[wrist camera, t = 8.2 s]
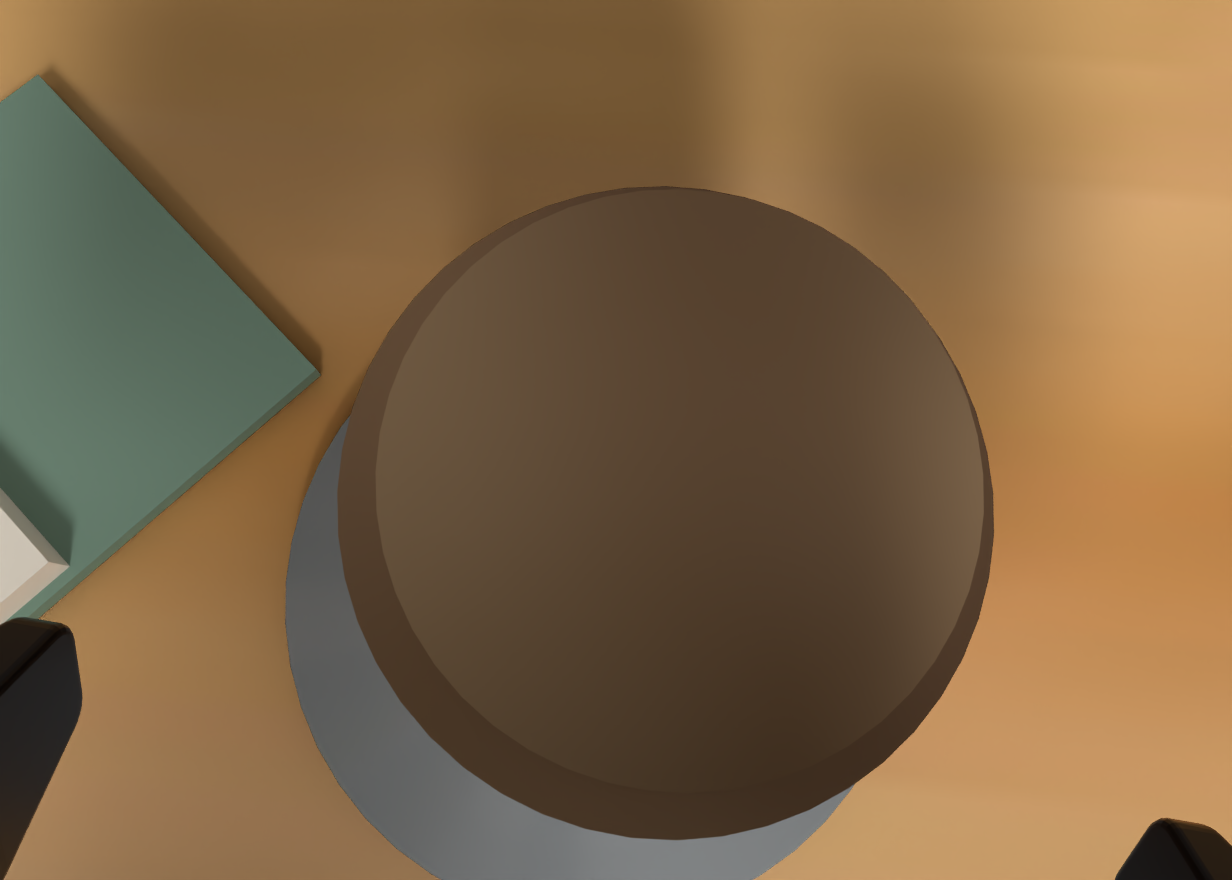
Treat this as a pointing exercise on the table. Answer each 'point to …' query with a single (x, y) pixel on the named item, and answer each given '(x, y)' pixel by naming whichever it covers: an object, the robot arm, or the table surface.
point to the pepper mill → (665, 513)
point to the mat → (109, 355)
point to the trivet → (433, 780)
